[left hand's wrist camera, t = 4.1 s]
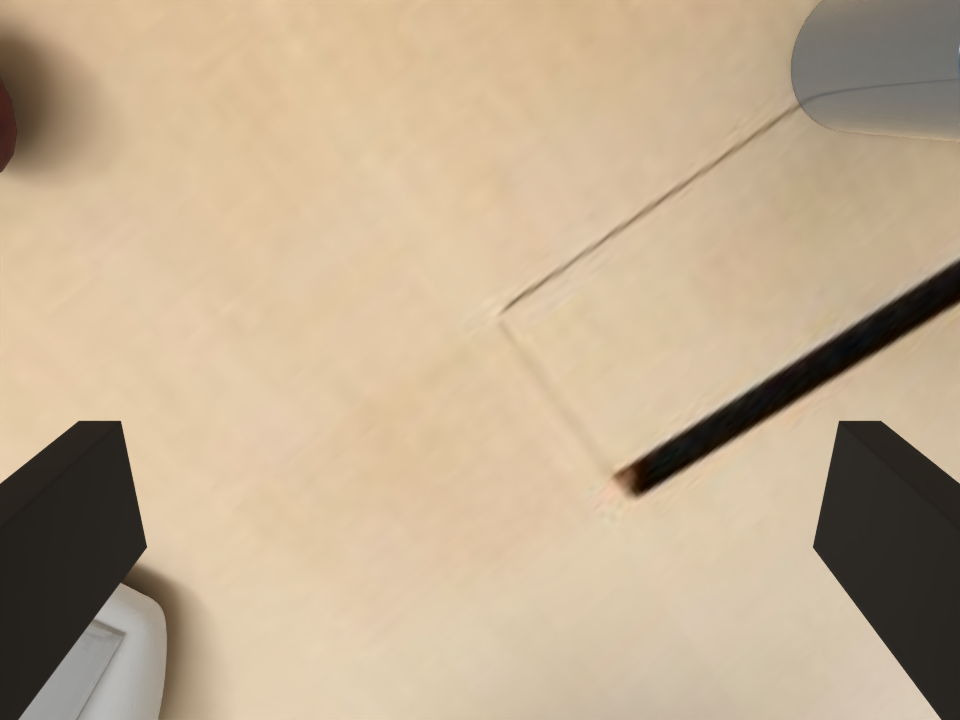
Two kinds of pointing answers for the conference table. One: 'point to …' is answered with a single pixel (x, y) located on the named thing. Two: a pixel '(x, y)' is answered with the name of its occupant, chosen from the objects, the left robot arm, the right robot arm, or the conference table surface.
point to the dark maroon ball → (6, 127)
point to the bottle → (881, 67)
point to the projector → (110, 666)
